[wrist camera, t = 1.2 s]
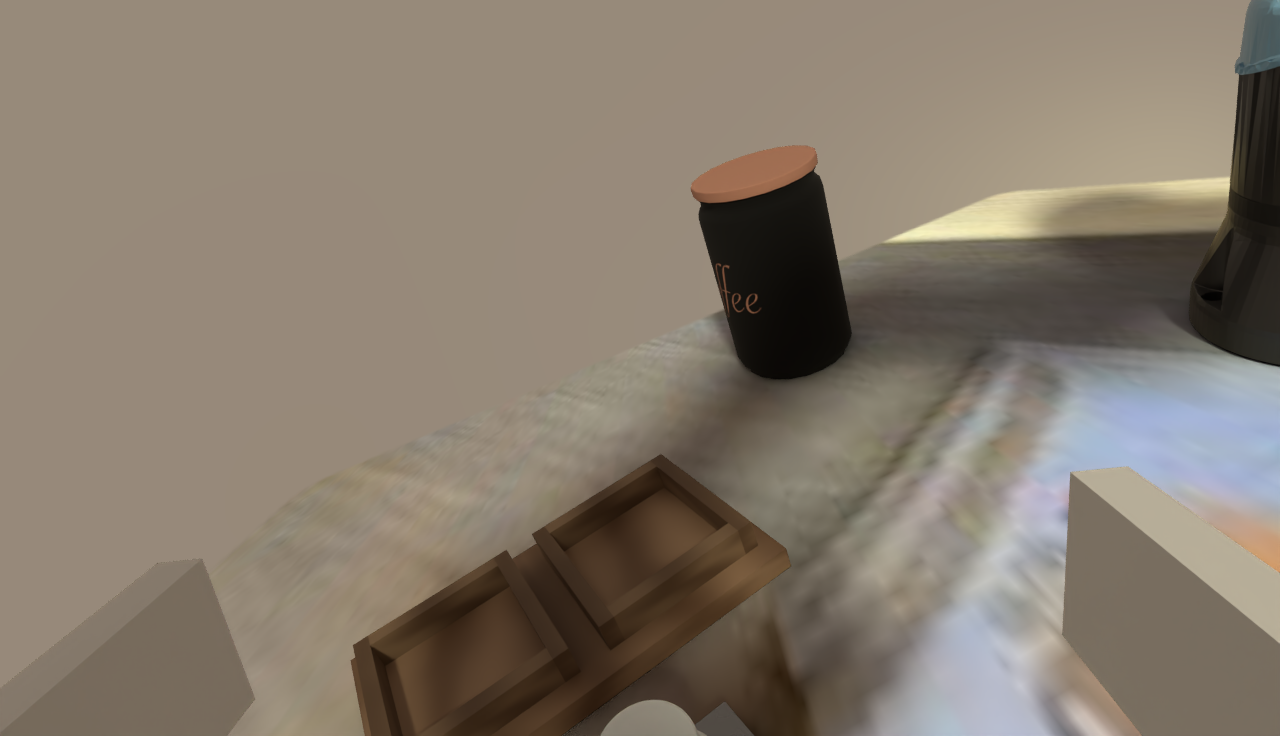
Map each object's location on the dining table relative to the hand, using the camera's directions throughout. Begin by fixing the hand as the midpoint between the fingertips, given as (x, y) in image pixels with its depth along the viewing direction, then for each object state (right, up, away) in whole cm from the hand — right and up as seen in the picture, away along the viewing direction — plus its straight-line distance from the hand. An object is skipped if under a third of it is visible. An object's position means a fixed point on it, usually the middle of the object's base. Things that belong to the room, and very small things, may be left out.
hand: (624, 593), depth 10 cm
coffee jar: (+15, +5, +55) cm, 57 cm away
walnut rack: (-4, -13, +34) cm, 36 cm away
